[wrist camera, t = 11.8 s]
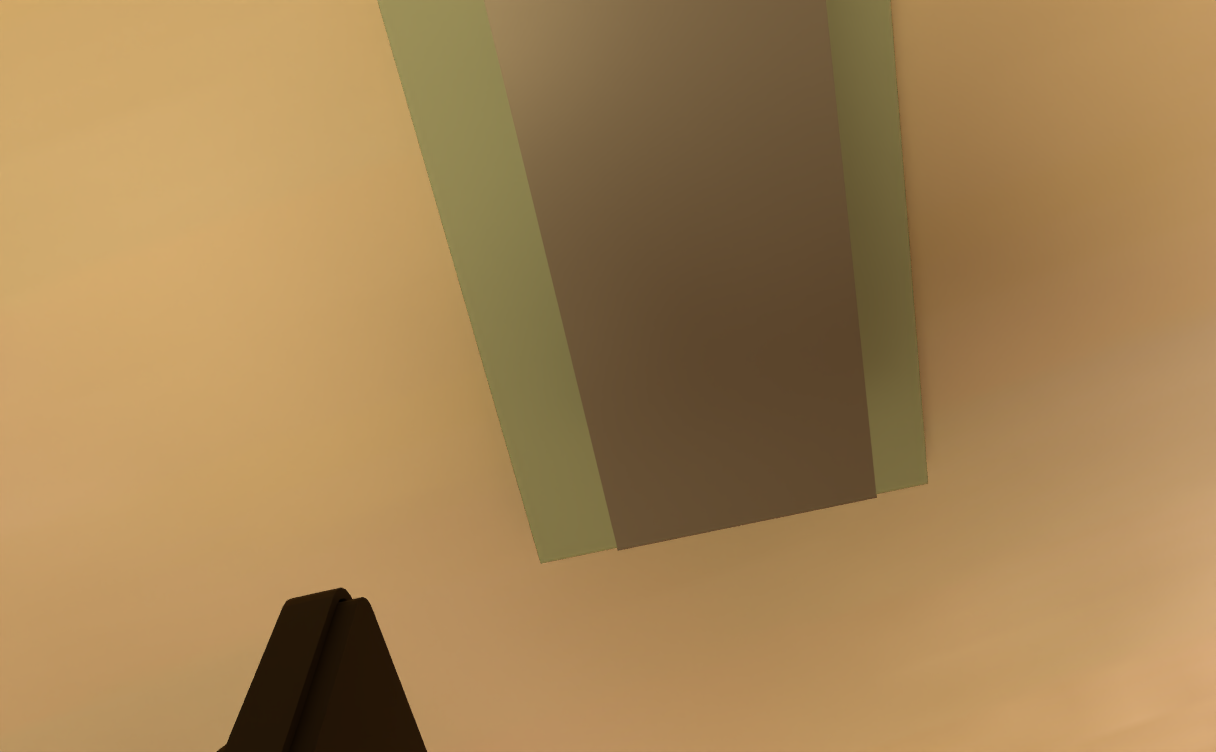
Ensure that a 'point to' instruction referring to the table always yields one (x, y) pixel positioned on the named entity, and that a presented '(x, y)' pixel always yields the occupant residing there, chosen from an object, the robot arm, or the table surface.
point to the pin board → (521, 281)
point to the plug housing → (696, 251)
